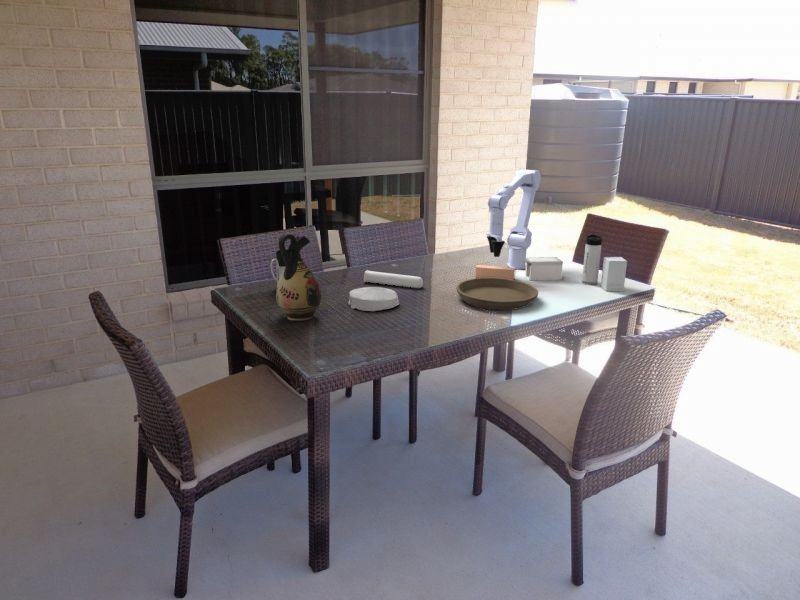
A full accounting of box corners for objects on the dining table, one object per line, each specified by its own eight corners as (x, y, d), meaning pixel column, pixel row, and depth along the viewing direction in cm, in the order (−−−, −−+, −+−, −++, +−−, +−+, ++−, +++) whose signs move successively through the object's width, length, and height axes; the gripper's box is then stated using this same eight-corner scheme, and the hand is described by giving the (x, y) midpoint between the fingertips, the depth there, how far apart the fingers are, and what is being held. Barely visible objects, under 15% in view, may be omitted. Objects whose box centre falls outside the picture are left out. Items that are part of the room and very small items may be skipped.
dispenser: (522, 275, 266) (523, 257, 263) (555, 274, 267) (556, 257, 264) (527, 280, 258) (528, 262, 255) (561, 279, 259) (563, 261, 256)
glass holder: (302, 286, 247) (300, 250, 243) (282, 295, 235) (279, 258, 230) (284, 283, 251) (282, 248, 246) (263, 292, 238) (261, 255, 234)
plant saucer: (553, 300, 232) (554, 289, 231) (503, 318, 212) (504, 306, 211) (490, 283, 254) (490, 272, 252) (439, 298, 234) (439, 287, 232)
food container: (341, 299, 233) (340, 282, 230) (389, 293, 239) (389, 276, 237) (356, 316, 215) (355, 298, 213) (408, 309, 222) (408, 291, 219)
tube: (425, 277, 248) (369, 270, 256) (421, 276, 243) (364, 269, 251) (423, 290, 248) (367, 283, 256) (420, 289, 243) (362, 282, 251)
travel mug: (595, 280, 258) (600, 234, 251) (598, 285, 251) (604, 237, 245) (580, 280, 258) (585, 234, 252) (583, 284, 252) (588, 237, 246)
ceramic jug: (301, 307, 222) (297, 226, 213) (331, 316, 213) (328, 232, 204) (264, 319, 210) (258, 233, 200) (294, 329, 200) (289, 240, 191)
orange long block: (476, 275, 265) (477, 264, 263) (513, 279, 261) (514, 267, 259) (475, 278, 261) (475, 267, 260) (512, 281, 257) (513, 270, 255)
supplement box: (624, 291, 243) (627, 261, 239) (605, 291, 243) (608, 260, 239) (618, 286, 250) (621, 256, 246) (600, 286, 250) (603, 256, 246)
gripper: (483, 220, 264) (482, 250, 268) (490, 226, 250) (489, 258, 255) (499, 220, 265) (498, 250, 269) (507, 226, 251) (505, 258, 255)
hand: (494, 254), depth 262 cm, fingers open, 7 cm apart
